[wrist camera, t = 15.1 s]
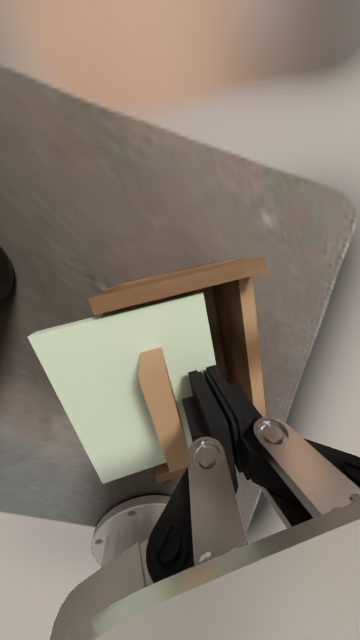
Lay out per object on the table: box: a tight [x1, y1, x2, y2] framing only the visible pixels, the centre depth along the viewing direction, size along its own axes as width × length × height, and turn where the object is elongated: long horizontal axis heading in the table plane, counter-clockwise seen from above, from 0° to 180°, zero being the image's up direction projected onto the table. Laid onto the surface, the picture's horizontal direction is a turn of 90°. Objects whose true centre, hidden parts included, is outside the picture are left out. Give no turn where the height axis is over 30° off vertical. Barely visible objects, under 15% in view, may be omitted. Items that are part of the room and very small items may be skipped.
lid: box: [28, 291, 216, 484], centre depth 10 cm, size 11×9×3 cm
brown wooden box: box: [88, 257, 266, 484], centre depth 14 cm, size 13×9×7 cm
